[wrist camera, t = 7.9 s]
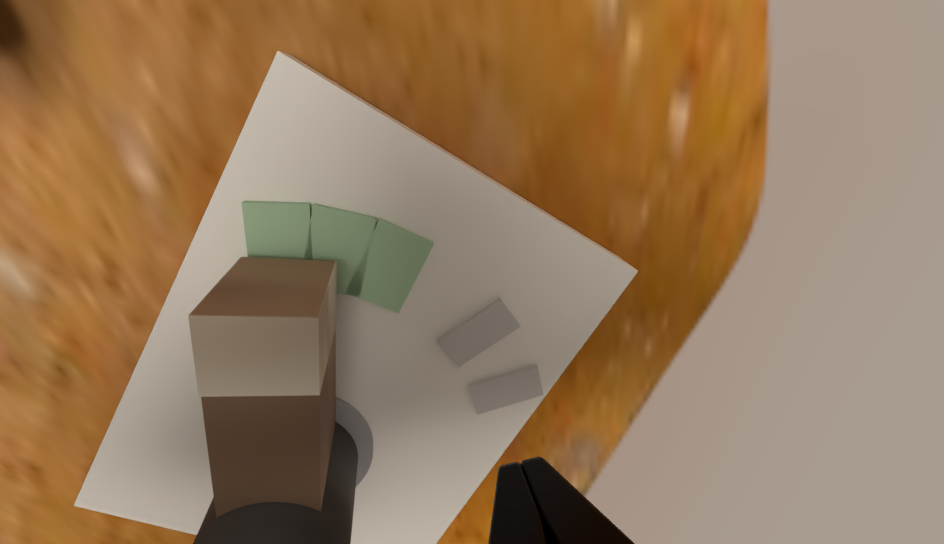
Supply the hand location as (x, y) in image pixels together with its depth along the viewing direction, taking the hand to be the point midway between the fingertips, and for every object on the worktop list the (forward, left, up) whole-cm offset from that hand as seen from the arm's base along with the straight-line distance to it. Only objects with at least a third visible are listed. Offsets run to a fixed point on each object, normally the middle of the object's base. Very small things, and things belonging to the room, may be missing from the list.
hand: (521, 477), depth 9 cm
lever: (-3, +4, -4) cm, 6 cm away
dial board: (-2, +3, -5) cm, 6 cm away
